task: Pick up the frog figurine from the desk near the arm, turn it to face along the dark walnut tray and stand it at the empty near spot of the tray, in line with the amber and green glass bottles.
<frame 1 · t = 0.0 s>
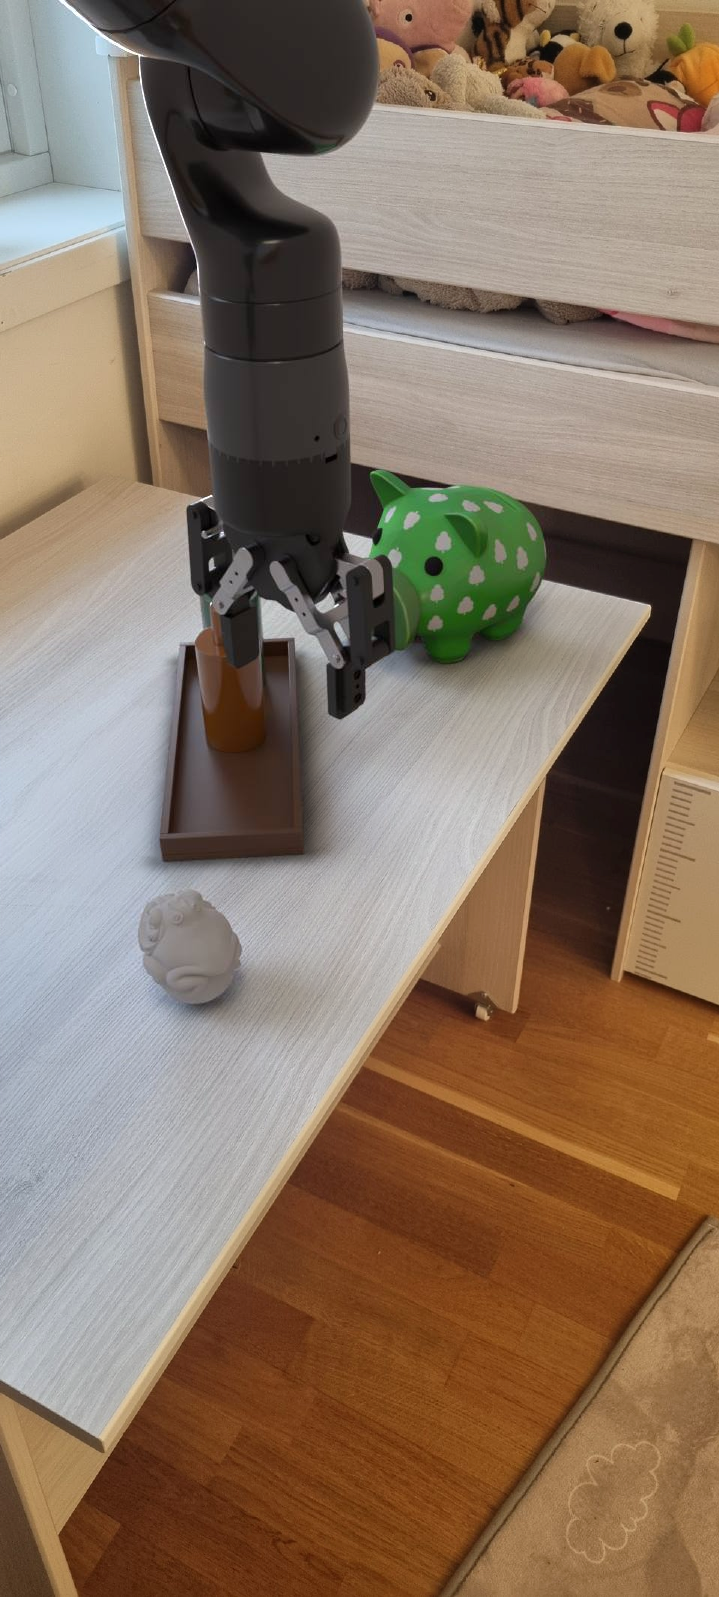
hand: (293, 686, 73), 17 cm above the table, tool pointing down, fingers open, 8 cm apart
green bottle: (237, 681, 104), point 1 cm above the table, touching tray
piggy bank: (445, 637, 111), on the table
tray: (236, 748, 97), on the table
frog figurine: (196, 990, 77), on the table
amber bottle: (236, 734, 98), point 1 cm above the table, touching tray
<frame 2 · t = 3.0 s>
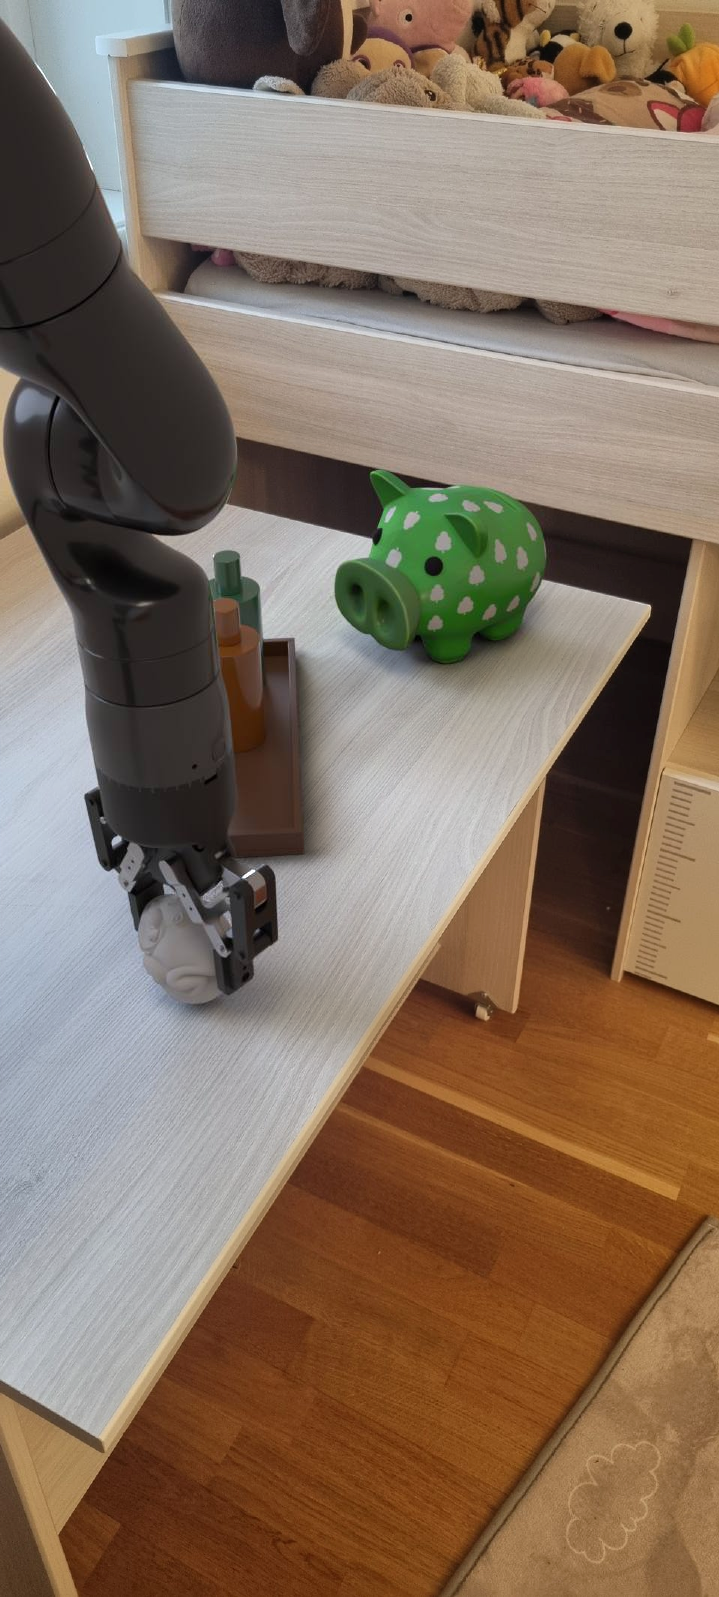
hand: (193, 955, 75), 3 cm above the table, tool pointing down, fingers closed on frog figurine, 7 cm apart
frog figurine: (196, 990, 77), on the table, touching gripper
everything else where it was.
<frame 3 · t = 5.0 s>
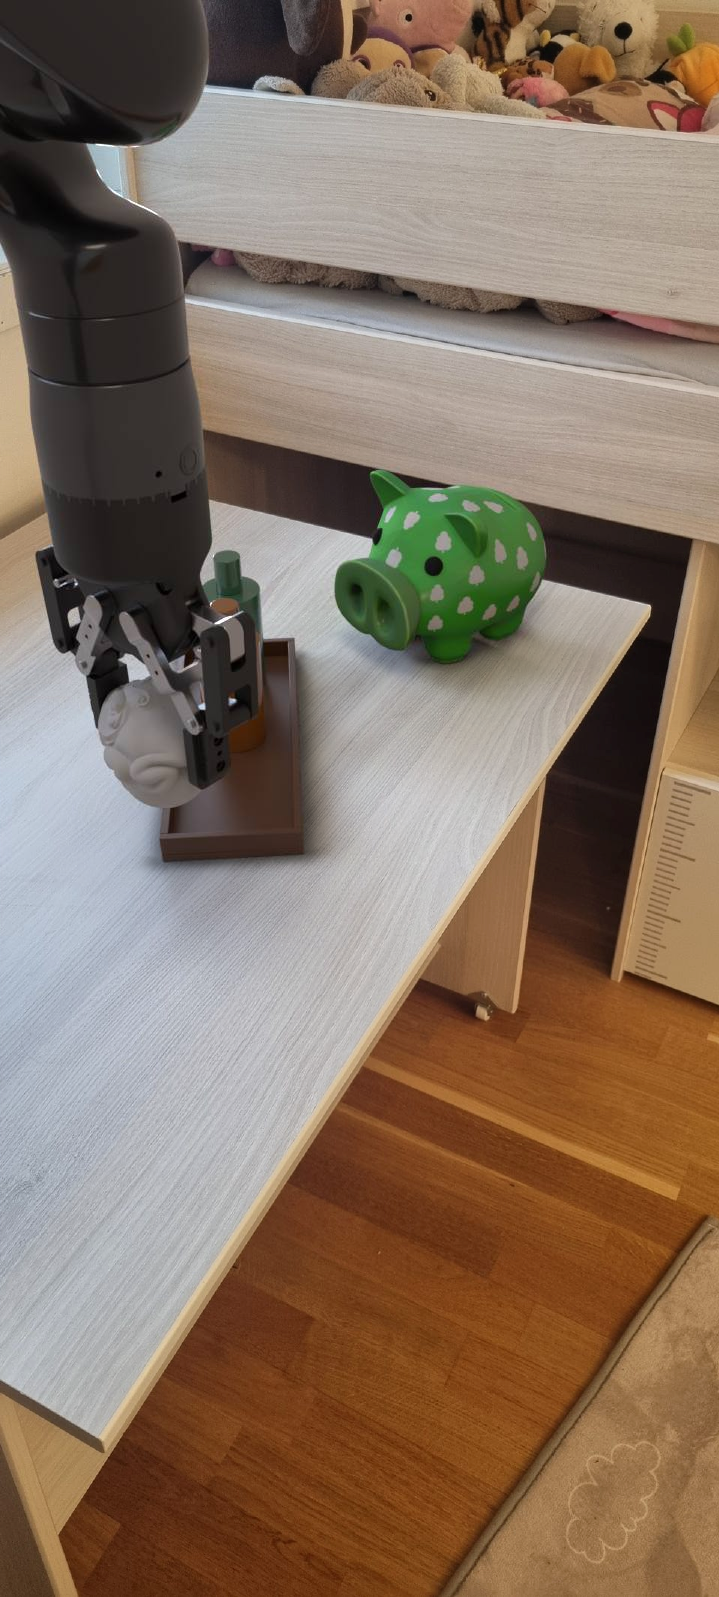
hand: (161, 752, 65), 19 cm above the table, tool pointing down, fingers closed on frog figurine, 7 cm apart
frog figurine: (166, 799, 67), point 16 cm above the table, touching gripper
everything else where it was.
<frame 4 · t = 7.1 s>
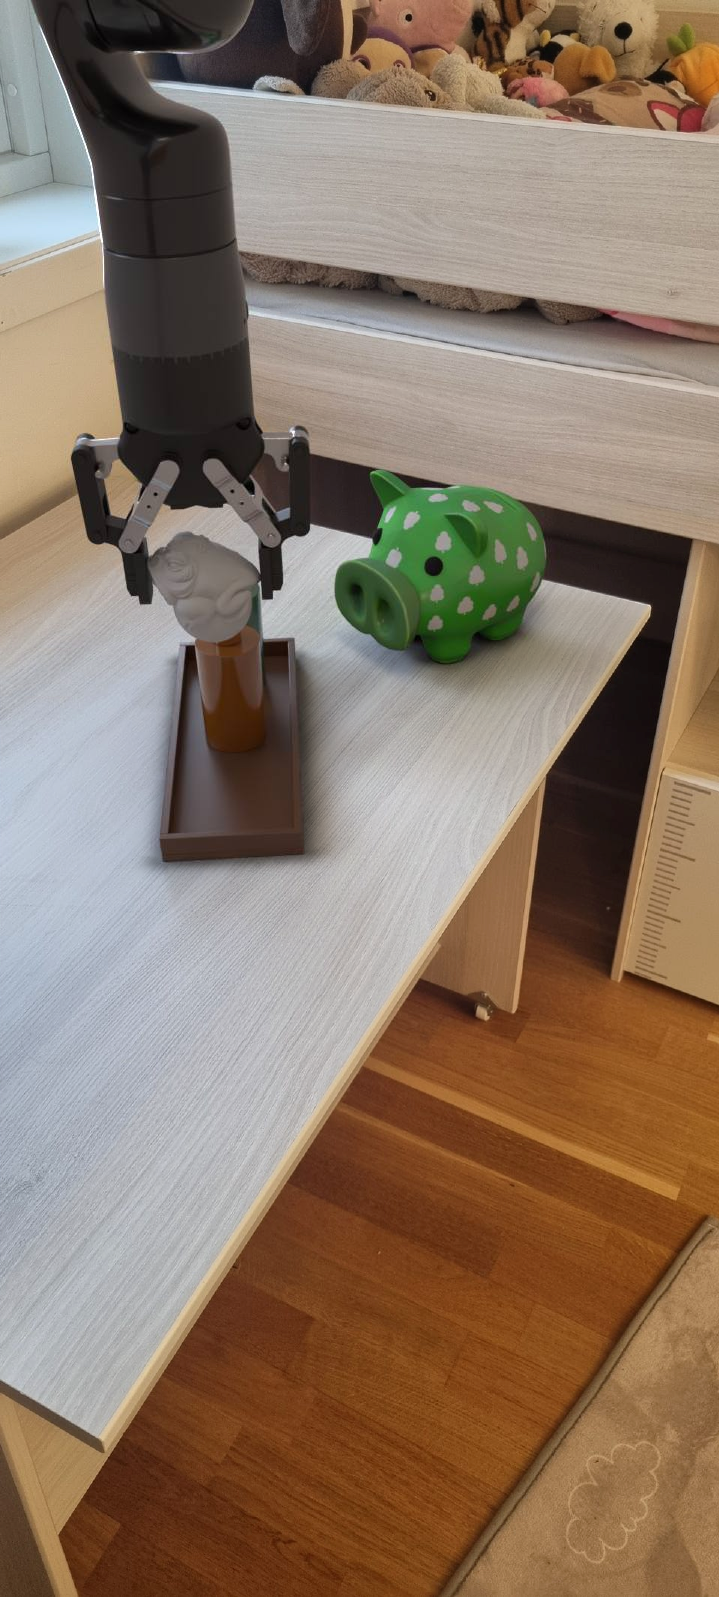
hand: (207, 595, 76), 20 cm above the table, tool pointing down, fingers closed on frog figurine, 7 cm apart
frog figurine: (212, 639, 78), point 17 cm above the table, touching gripper
everything else where it was.
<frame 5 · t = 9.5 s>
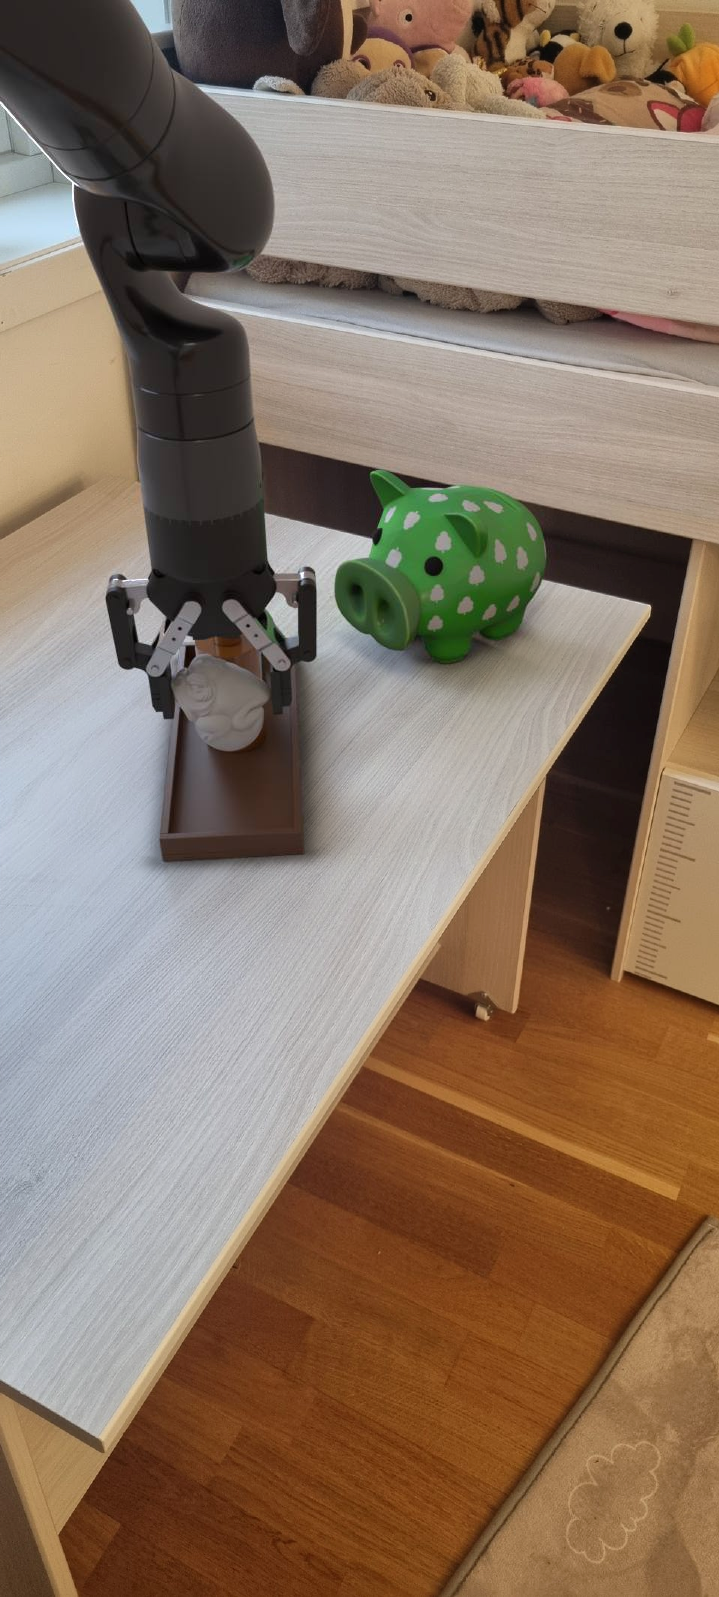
hand: (224, 710, 85), 9 cm above the table, tool pointing down, fingers closed on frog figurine, 7 cm apart
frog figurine: (227, 746, 86), point 6 cm above the table, touching gripper
everything else where it was.
when the fingers open (4 cm above the table, at t = 11.5 s): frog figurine stays where it is, resting on tray.
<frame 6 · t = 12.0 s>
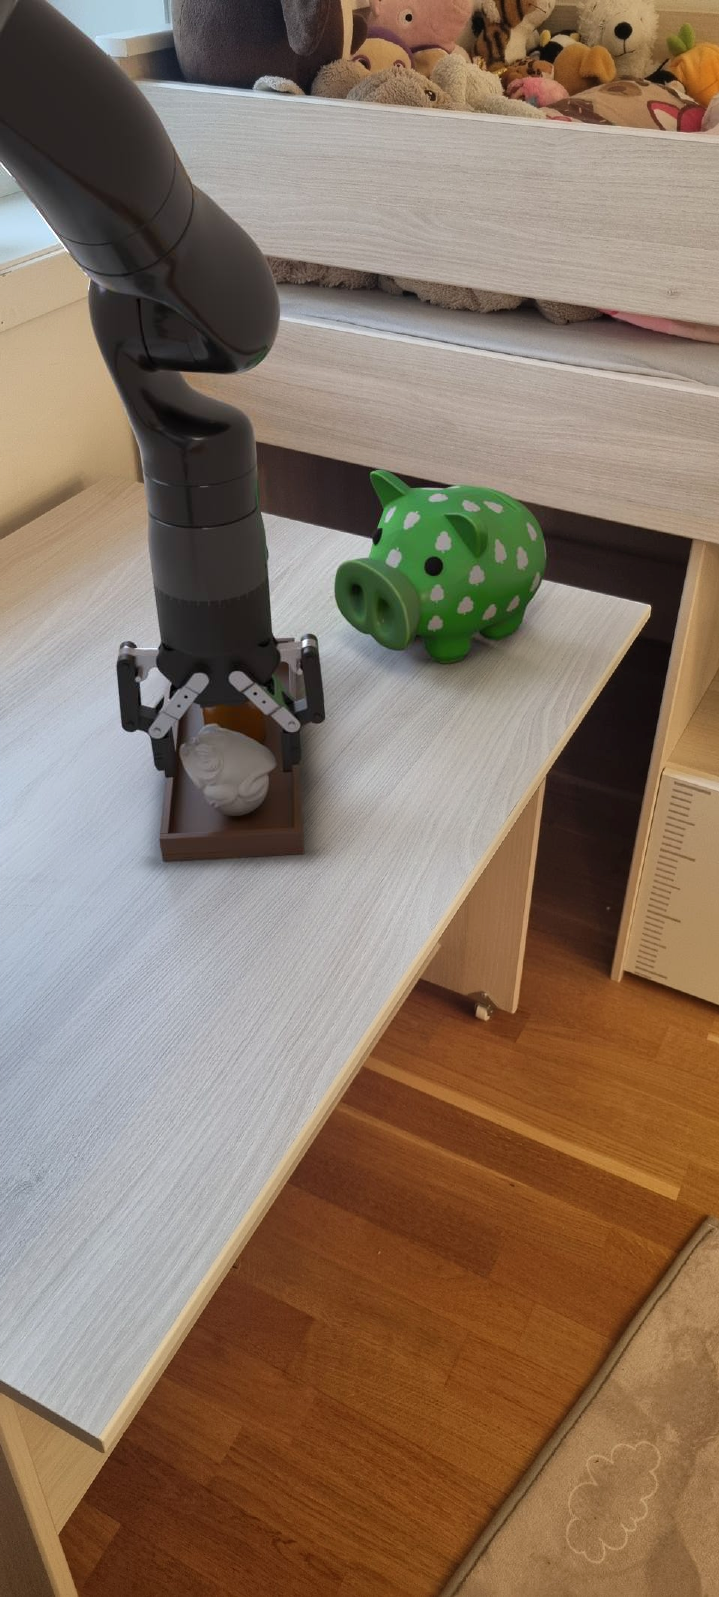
hand: (229, 768, 88), 4 cm above the table, tool pointing down, fingers open, 8 cm apart
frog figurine: (233, 810, 90), resting on tray
everything else where it was.
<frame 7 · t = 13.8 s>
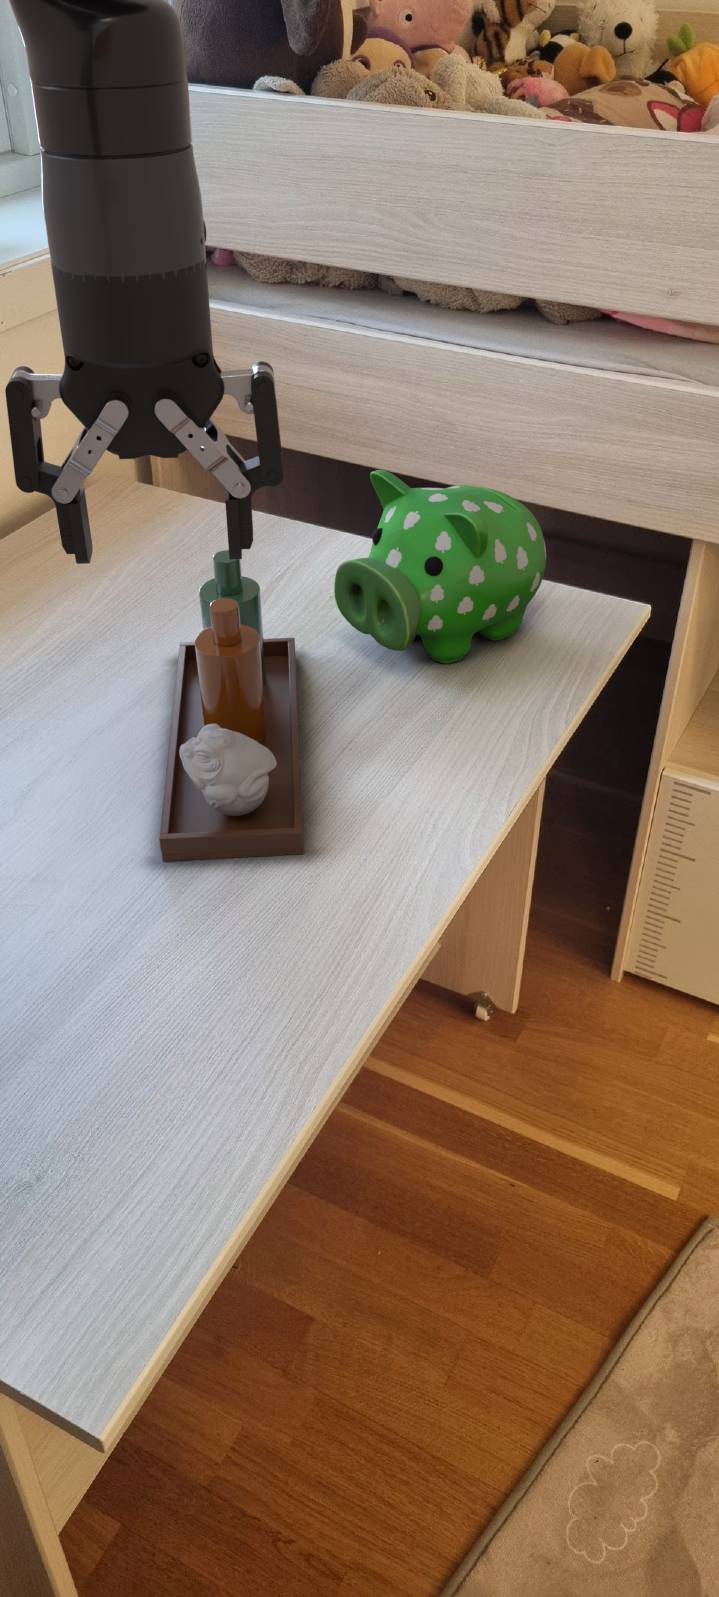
hand: (161, 555, 68), 26 cm above the table, tool pointing down, fingers open, 8 cm apart
nothing on the table moved.
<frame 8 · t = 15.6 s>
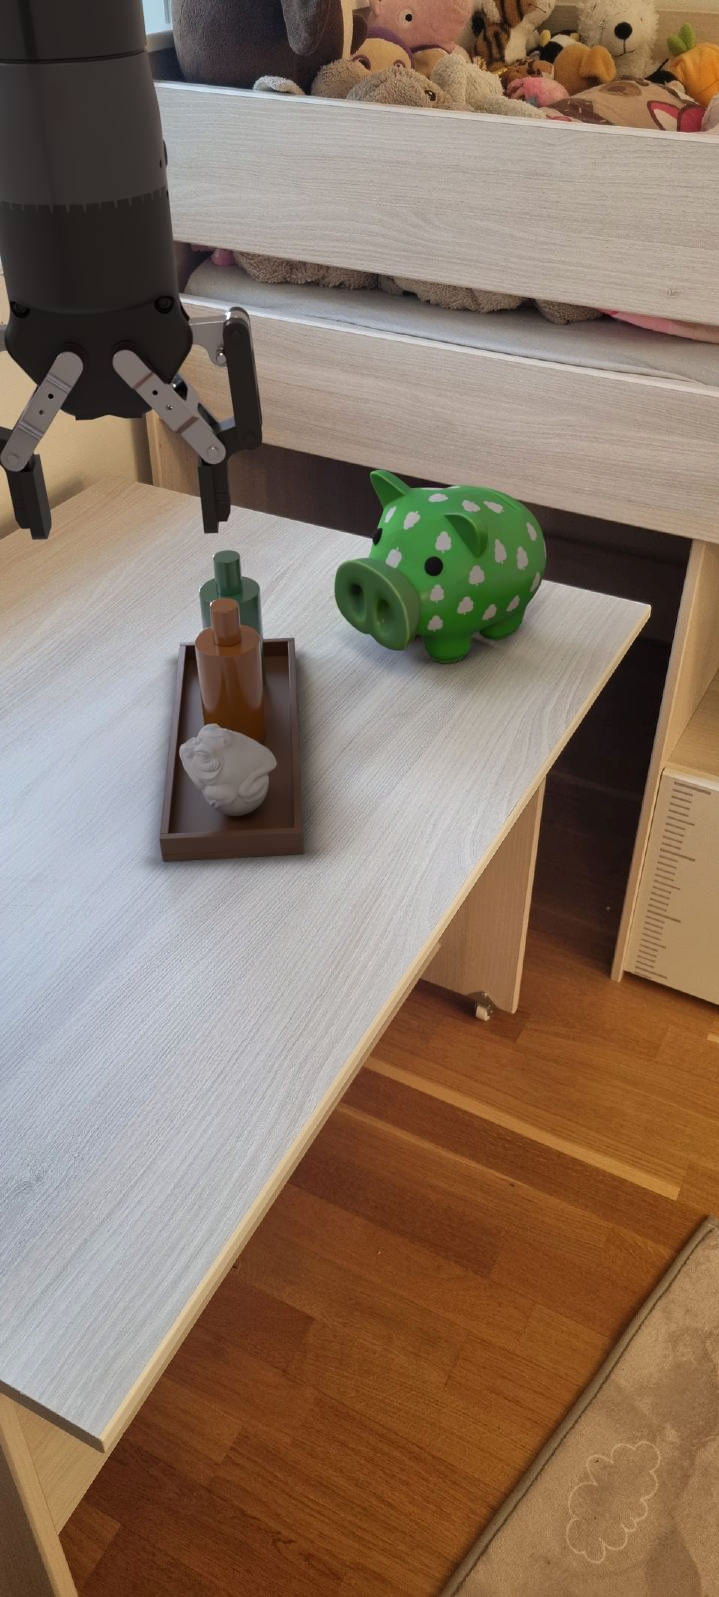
hand: (128, 530, 61), 30 cm above the table, tool pointing down, fingers open, 8 cm apart
nothing on the table moved.
at the end: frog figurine 0.1 cm from the target spot in the tray, point 0.4 cm above the tray's base; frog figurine tilted 0°; amber bottle moved 0.0 cm from its start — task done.
